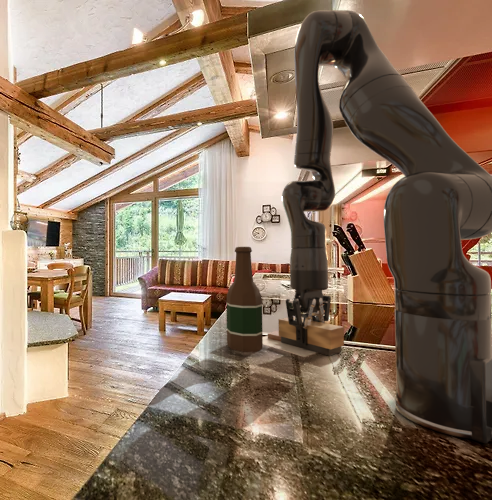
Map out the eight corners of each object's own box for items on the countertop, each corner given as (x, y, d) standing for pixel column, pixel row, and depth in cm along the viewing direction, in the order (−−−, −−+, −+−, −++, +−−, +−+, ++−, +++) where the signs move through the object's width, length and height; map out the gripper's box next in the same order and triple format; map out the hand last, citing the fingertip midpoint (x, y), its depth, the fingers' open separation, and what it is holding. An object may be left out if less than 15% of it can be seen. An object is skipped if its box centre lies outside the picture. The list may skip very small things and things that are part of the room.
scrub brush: (344, 352, 64) (343, 326, 64) (331, 356, 61) (330, 330, 61) (292, 338, 74) (291, 316, 74) (278, 342, 72) (278, 319, 72)
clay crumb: (291, 338, 74) (291, 334, 74) (283, 342, 72) (283, 337, 72) (275, 335, 77) (275, 330, 78) (267, 338, 75) (267, 333, 75)
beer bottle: (270, 354, 66) (269, 246, 67) (242, 358, 64) (241, 246, 64) (246, 344, 74) (245, 247, 74) (220, 348, 71) (218, 247, 71)
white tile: (340, 349, 69) (340, 345, 69) (304, 361, 62) (304, 356, 62) (284, 335, 81) (284, 332, 81) (249, 344, 74) (249, 340, 74)
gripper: (305, 270, 61) (307, 352, 61) (343, 267, 68) (344, 341, 68) (273, 268, 68) (274, 343, 68) (310, 266, 75) (311, 334, 75)
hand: (309, 342), depth 68 cm, fingers closed on scrub brush, 5 cm apart
